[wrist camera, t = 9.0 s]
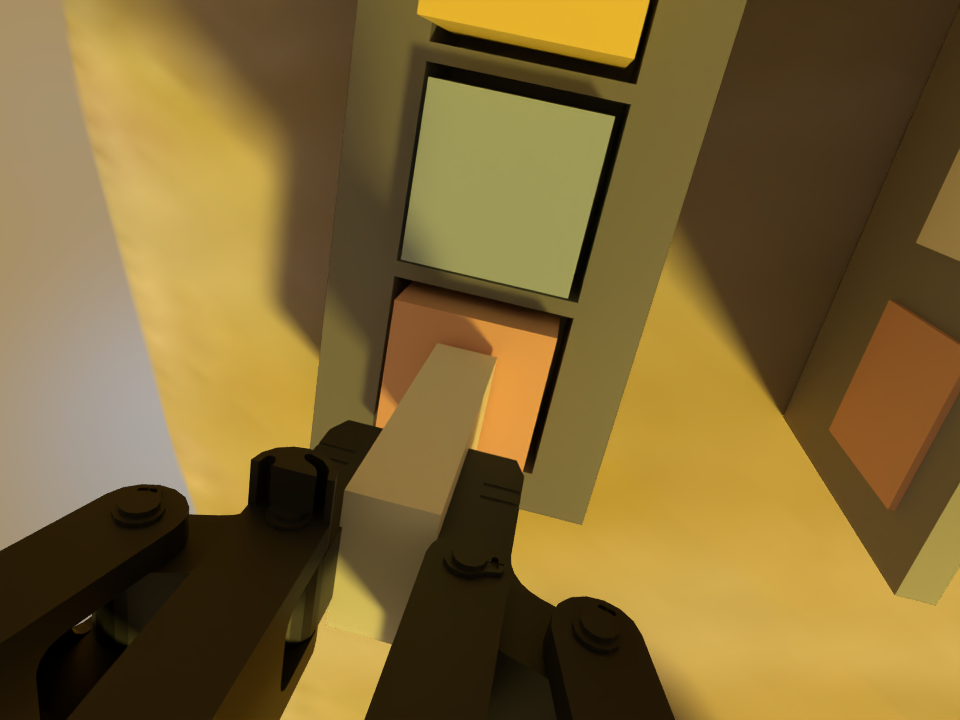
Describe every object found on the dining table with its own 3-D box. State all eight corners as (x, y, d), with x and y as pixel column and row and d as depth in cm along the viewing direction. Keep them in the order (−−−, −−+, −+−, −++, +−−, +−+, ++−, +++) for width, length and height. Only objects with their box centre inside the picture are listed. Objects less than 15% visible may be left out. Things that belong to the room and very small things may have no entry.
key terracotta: (427, 266, 19) (394, 300, 16) (562, 298, 18) (557, 338, 15) (407, 388, 20) (373, 441, 17) (531, 419, 20) (520, 479, 17)
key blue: (458, 81, 17) (428, 76, 14) (610, 114, 17) (615, 116, 13) (433, 232, 18) (401, 259, 15) (571, 264, 18) (567, 298, 15)
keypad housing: (476, -513, 14) (436, -736, 10) (855, -456, 13) (958, -671, 10) (355, 396, 22) (309, 454, 19) (582, 454, 22) (581, 524, 18)
